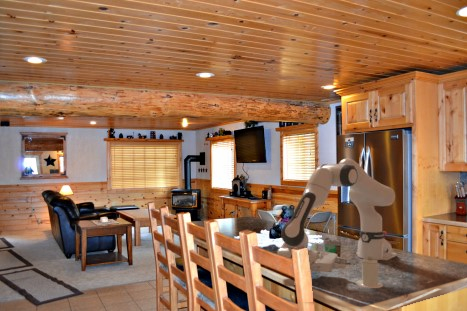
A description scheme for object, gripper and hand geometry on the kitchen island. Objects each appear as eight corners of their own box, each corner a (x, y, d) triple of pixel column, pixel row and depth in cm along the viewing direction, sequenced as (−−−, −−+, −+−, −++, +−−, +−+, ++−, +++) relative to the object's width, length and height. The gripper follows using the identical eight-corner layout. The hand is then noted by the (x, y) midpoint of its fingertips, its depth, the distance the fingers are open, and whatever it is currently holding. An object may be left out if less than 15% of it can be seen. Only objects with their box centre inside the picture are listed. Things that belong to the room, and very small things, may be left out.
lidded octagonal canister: (367, 280, 174) (367, 254, 174) (380, 284, 169) (380, 257, 169) (359, 283, 170) (359, 256, 170) (372, 287, 166) (372, 259, 166)
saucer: (365, 280, 178) (365, 278, 178) (388, 286, 169) (388, 284, 169) (349, 285, 171) (349, 283, 171) (373, 291, 162) (373, 289, 162)
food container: (318, 256, 221) (318, 238, 222) (328, 255, 224) (328, 237, 224) (331, 261, 210) (331, 242, 210) (341, 260, 212) (341, 241, 212)
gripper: (309, 258, 169) (343, 261, 164) (317, 248, 188) (348, 251, 183) (308, 273, 168) (343, 277, 163) (317, 262, 188) (348, 265, 182)
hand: (346, 263), depth 173 cm, fingers open, 8 cm apart
